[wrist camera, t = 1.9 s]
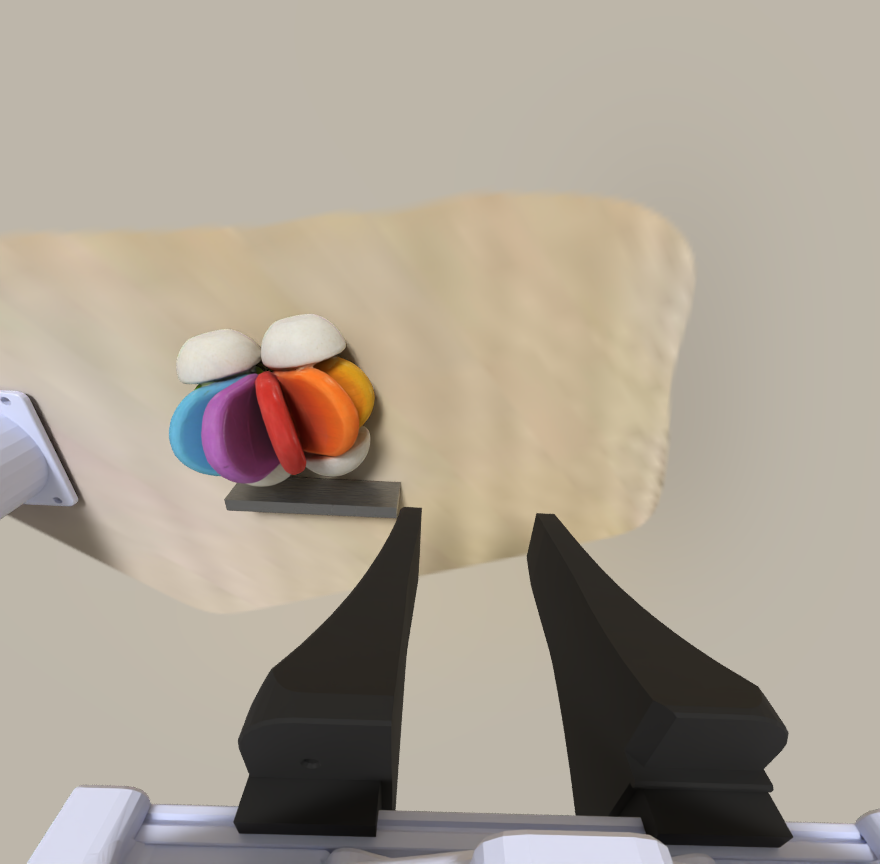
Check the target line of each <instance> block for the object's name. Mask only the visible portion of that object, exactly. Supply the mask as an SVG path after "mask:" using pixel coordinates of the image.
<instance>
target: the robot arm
mask: <svg viewBox="0 0 880 864" xmlns="http://www.w3.org/2000/svg"><path fill="white" fill-rule="evenodd" d="M77 502H78V497H77V495H76V493H75V491H74V489H73V487H72V485H71V482H70V480H69V478H68V476H67V474H66V472H65V470H64V468H63V466H62V464H61V462H60V460H59V458H58V456H57V454H56V452H55V450H54V448H53V446H52V444H51V442H50V440H49V438H48V435H47V433H46V431H45V429H44V427H43V425H42V423H41V421H40V419H39V417H38V415H37V413H36V411H35V409H34V407H33V405H32V403H31V401H30V399H29V397H28V396H27V395H26V394H24V393H22V392H19V391H7V390H0V519H2V518H3V517H5V516H6V515H8V514H9V513H10V512H12V511H13V510H15V509H16V508H18V507H19V506H21V505H22V504H31V505H52V506H73V505H74V504H76V503H77ZM421 513H422V508H413V507H403V508H402V509H401V510H400V513H399V516H398V518H397V521H396V523H395V525H394V527H393V529H392V531H391V533H390V535H389V537H388V539H387V541H386V542H385V544H384V546H383V548H382V549H381V551H380V553H379V554H378V556H377V557H376V559H375V560H374V562H373V563H372V565H371V566H370V568H369V569H368V571H367V572H366V574H365V575H364V576H363V578H362V579H361V580H360V582H359V583H358V584H357V586H356V587H355V588H354V589H353V591H352V592H351V593H350V594H349V596H348V597H347V598H346V599H345V600H344V601H343V602H342V604H341V605H340V606H339V607H338V608H337V609H336V610H335V611H334V613H333V614H332V615H331V616H330V617H329V618H328V619H327V620H326V621H325V622H324V623H323V624H322V625H321V626H320V627H319V628H318V629H317V630H316V631H315V632H314V633H312V634H311V635H310V636H309V637H308V638H307V639H306V640H305V641H304V642H303V643H302V644H301V645H300V646H298V647H297V648H296V649H295V650H294V651H293V652H291V653H290V654H289V655H288V656H287V657H285V658H284V659H283V660H282V661H281V662H279V663H278V664H277V665H276V666H275V667H273V668H272V669H271V671H270V672H269V674H268V676H267V677H266V679H265V681H264V682H263V684H262V686H261V688H260V689H259V692H258V693H257V695H256V697H255V699H254V701H253V703H252V705H251V707H250V710H249V712H248V715H247V717H246V720H245V723H244V726H243V728H242V731H241V733H240V736H239V739H238V745H239V750H240V752H241V755H242V757H243V760H244V762H245V765H246V767H247V770H248V773H249V778H248V780H247V783H246V786H245V789H244V792H243V795H242V798H241V801H240V804H239V806H212V805H178V804H151V803H150V800H149V797H148V795H147V794H146V793H145V792H144V791H143V790H141V789H138V788H135V787H129V786H108V785H107V786H106V785H105V786H104V785H80V786H78V787H76V788H75V789H74V790H73V792H72V793H71V795H70V796H69V798H68V799H67V801H66V803H65V804H64V806H63V807H62V809H61V810H60V812H59V814H58V815H57V817H56V818H55V820H54V822H53V823H52V824H51V826H50V828H49V829H48V831H47V833H46V834H45V835H44V837H43V839H42V840H41V842H40V843H39V845H38V846H37V848H36V849H35V851H34V853H33V854H32V856H31V857H30V859H29V860H28V862H27V864H880V809H876V810H872V811H869V812H867V813H865V814H863V815H862V816H860V817H859V818H858V819H857V820H856V823H817V822H785V821H784V819H783V818H782V816H781V814H780V812H779V811H778V809H777V807H776V805H775V803H774V802H773V800H772V798H771V796H770V795H769V793H768V792H772V791H773V785H772V783H771V781H770V779H769V778H768V776H767V774H766V773H765V771H764V768H765V767H766V766H767V765H768V764H769V763H770V762H771V761H772V760H773V759H774V758H775V757H776V756H777V755H778V754H779V753H780V752H781V751H782V749H783V748H784V746H785V745H786V744H787V739H788V731H787V729H786V727H785V725H784V724H783V722H782V721H781V719H780V718H779V716H778V715H777V713H776V712H775V710H774V709H773V707H772V706H771V704H770V703H769V701H768V700H767V698H766V697H765V696H764V694H763V693H762V691H761V690H760V689H759V687H758V686H756V685H755V684H753V683H751V682H750V681H748V680H746V679H745V678H743V677H741V676H740V675H738V674H736V673H735V672H733V671H731V670H730V669H728V668H726V667H725V666H723V665H721V664H720V663H718V662H717V661H715V660H713V659H712V658H710V657H709V656H707V655H706V654H705V653H703V652H701V651H700V650H699V649H697V648H695V647H694V646H693V645H691V644H690V643H688V642H687V641H685V640H684V639H683V638H681V637H680V636H679V635H677V634H676V633H674V632H673V631H672V630H671V629H669V628H668V627H667V626H665V625H664V624H663V623H661V622H660V621H659V620H657V619H656V618H655V617H654V616H652V615H651V614H650V613H649V612H648V611H646V610H645V609H643V607H641V606H640V605H639V604H638V603H637V602H636V601H635V600H634V599H633V598H631V597H630V596H629V595H628V594H627V593H626V592H625V591H623V590H622V589H621V588H620V587H619V586H618V585H617V584H616V583H615V582H614V581H613V580H612V579H611V578H610V577H609V576H608V575H607V574H606V573H605V572H604V571H603V570H602V569H601V568H600V567H599V566H598V564H597V563H596V562H595V561H594V560H593V559H592V558H591V557H590V556H589V554H588V553H587V552H586V551H585V550H584V549H583V548H582V547H581V545H580V544H579V543H578V542H577V541H576V539H575V538H574V537H573V536H572V535H571V533H570V532H569V531H568V530H567V529H566V527H565V526H564V525H563V524H562V523H561V521H560V520H559V519H558V518H557V517H556V516H555V514H541V513H537V514H536V518H535V522H534V527H533V531H532V536H531V540H530V544H529V549H528V553H527V562H528V569H529V575H530V582H531V587H532V591H533V594H534V598H535V602H536V605H537V609H538V612H539V616H540V619H541V623H542V626H543V630H544V633H545V637H546V641H547V643H548V647H549V651H550V655H551V660H552V663H553V669H554V675H555V680H556V685H557V691H558V697H559V702H560V709H561V714H562V721H563V726H564V733H565V739H566V747H567V754H568V760H569V767H570V774H571V782H572V790H573V797H574V806H575V813H576V816H569V815H534V814H499V813H497V814H496V813H462V812H427V811H395V809H396V795H397V779H398V764H399V751H400V737H401V722H402V709H403V695H404V681H405V667H406V656H407V648H408V640H409V634H410V627H411V622H412V616H413V609H414V602H415V597H416V590H417V584H418V573H419V557H420V536H421Z"/></svg>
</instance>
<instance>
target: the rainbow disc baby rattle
mask: <svg viewBox="0 0 880 864" xmlns="http://www.w3.org/2000/svg"><path fill="white" fill-rule="evenodd" d="M345 348H346V342H345V339H344V337H343V335H342V334H341V333H340V331H339V330H338V329H337V328H336V326H335V325H333V324H332V323H331V322H330V321H328V320H327V319H325V318H323V317H321V316H319V315H316V314H303V315H296V316H292V317H288V318H284V319H280V320H278V321H276V322H274V323H273V324H272V325H271V326H270V327H269V329H268V330H267V331H266V333H265V335H264V338H263V341H262V345H261V348H260V346H259V345H258V344H257V343H256V342H255V341H254V340H253V339H251V338H250V337H248V336H247V335H245V334H243V333H241V332H238V331H235V330H231V329H221V330H215V331H211V332H208V333H204V334H200V335H197V336H194V337H192V338H190V339H188V340H187V341H186V342H185V344H184V345H183V346H182V348H181V350H180V352H179V354H178V358H177V363H176V366H177V375H178V378H179V380H180V382H182V383H184V384H198V386H197V387H196V388H195V390H194V391H193V392H191V393H190V394H188V395H187V396H186V397H185V398H184V399H183V400H182V402H181V403H180V404H179V405H178V407H177V408H176V410H175V412H174V414H173V416H172V419H171V422H170V428H169V439H170V444H171V447H172V450H173V452H174V454H175V456H176V457H177V458H178V459H179V460H180V461H181V462H182V463H183V464H184V465H186V466H187V467H189V468H191V469H193V470H195V471H197V472H199V473H203V474H207V475H213V476H222V477H224V478H226V479H228V480H230V481H233V482H236V483H242V484H248V485H251V486H260V487H264V486H271V485H275V484H277V483H280V482H282V481H284V480H285V479H287V478H288V477H289V476H290V475H291V474H292V475H295V474H298V473H301V472H303V471H304V469H305V467H307V468H308V469H310V470H311V471H313V472H315V473H317V474H319V475H323V476H341V475H344V474H347V473H349V472H351V471H353V470H354V469H356V468H357V467H358V466H359V465H360V464H361V463H362V462H363V461H364V459H365V457H366V456H367V454H368V451H369V447H370V433H369V430H368V429H367V428H366V427H364V426H362V425H363V424H364V423H365V422H366V420H367V419H368V418H369V416H370V414H371V412H372V410H373V406H374V400H375V396H374V390H373V387H372V384H371V382H370V380H369V379H368V377H367V376H366V375H365V373H364V372H363V371H362V370H361V369H360V368H358V367H357V366H356V365H355V364H353V363H352V362H350V361H348V360H345V359H343V358H340V357H339V356H335V355H337V354H339V353H341V352H342V351H343V350H344V349H345ZM261 361H262V362H263V364H264V365H265V366H266V367H268V368H269V369H271V370H273V371H274V372H270V371H265V372H264V371H263V370H262V369H261V368H260V367H257V366H255V365H257V364H258V363H259V362H261Z"/></svg>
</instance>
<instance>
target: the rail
mask: <svg viewBox="0 0 880 864" xmlns="http://www.w3.org/2000/svg"><path fill="white" fill-rule="evenodd" d="M400 486H401V482H382V481H362V480H341V479H320V478H300V477H288V478H287V479H285V480H284V481H282V482H280V483H277V484H275V485H271V486H264V487H260V486H251V485H248V484H242V483H237V484H236V485H235V486H234V488H233V489H232V490H231V492H230V493H229V494H228V496H227V497H226V498H225V499H224V500H225V504H226V508H227V510H230V511H252V512H273V513H295V514H317V515H338V516H360V517H381V518H397V512H398V505H399V499H400Z"/></svg>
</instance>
